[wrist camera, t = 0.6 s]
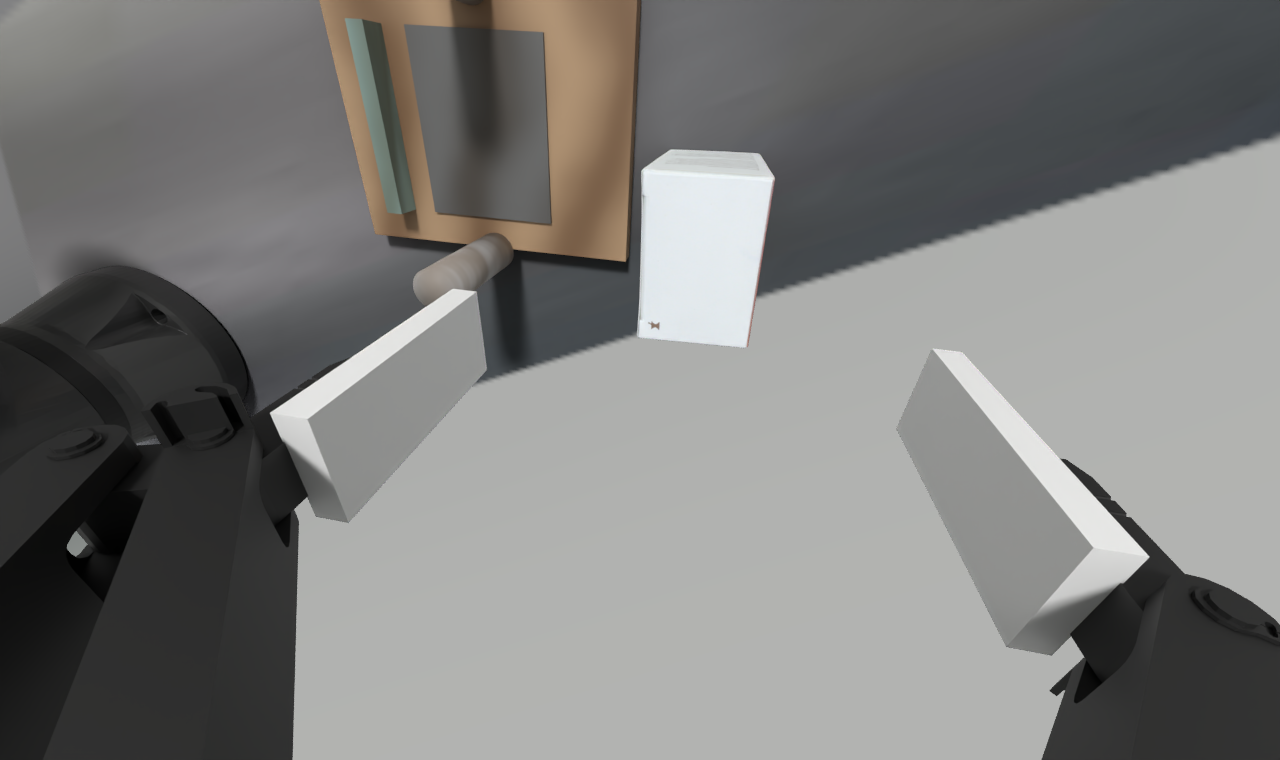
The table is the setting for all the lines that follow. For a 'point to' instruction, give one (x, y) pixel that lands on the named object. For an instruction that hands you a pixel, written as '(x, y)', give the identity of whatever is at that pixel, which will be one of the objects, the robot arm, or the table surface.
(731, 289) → the small box
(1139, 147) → the table surface
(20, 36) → the table surface
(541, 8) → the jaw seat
